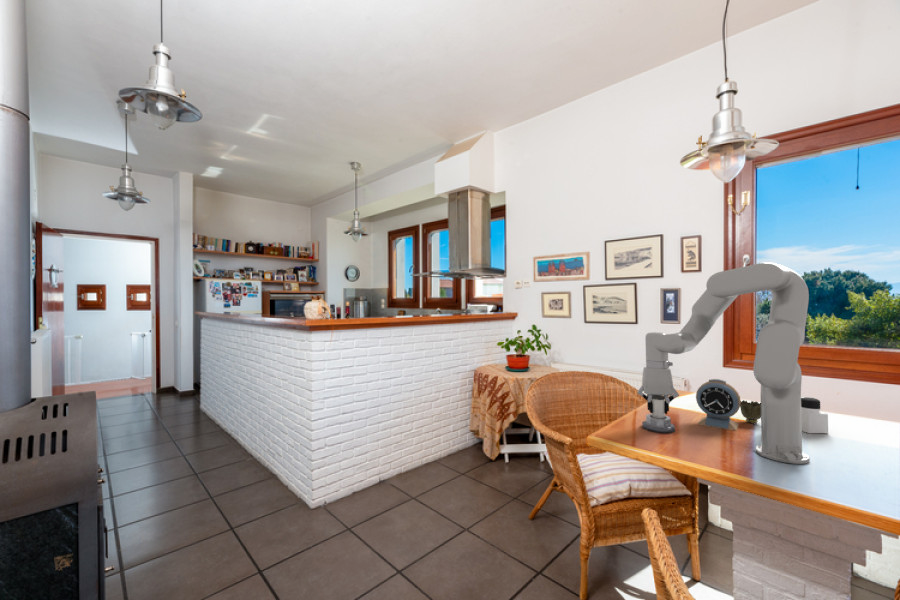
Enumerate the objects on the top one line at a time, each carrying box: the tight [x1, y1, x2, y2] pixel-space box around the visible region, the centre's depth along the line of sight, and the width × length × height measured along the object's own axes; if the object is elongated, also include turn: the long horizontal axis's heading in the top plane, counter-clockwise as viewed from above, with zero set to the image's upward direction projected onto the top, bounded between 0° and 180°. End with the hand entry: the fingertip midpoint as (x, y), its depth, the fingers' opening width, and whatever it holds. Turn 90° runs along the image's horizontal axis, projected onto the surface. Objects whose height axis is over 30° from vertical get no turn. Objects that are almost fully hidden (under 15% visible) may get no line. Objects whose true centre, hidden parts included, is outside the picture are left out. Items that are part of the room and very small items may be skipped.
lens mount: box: [641, 413, 676, 434], centre depth 145 cm, size 11×11×4 cm
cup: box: [739, 399, 761, 424], centre depth 150 cm, size 8×7×8 cm
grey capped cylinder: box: [651, 395, 666, 419], centre depth 145 cm, size 4×4×10 cm
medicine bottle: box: [801, 396, 829, 434], centre depth 140 cm, size 7×7×12 cm
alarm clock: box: [695, 378, 742, 432], centre depth 148 cm, size 14×10×18 cm
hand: (658, 412), depth 145 cm, fingers closed on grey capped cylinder, 4 cm apart
